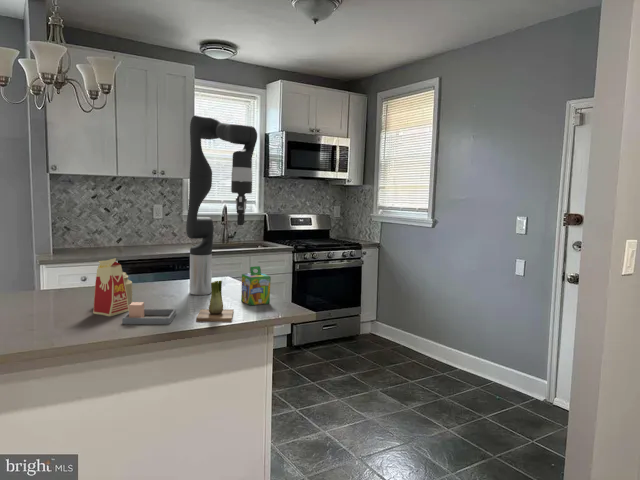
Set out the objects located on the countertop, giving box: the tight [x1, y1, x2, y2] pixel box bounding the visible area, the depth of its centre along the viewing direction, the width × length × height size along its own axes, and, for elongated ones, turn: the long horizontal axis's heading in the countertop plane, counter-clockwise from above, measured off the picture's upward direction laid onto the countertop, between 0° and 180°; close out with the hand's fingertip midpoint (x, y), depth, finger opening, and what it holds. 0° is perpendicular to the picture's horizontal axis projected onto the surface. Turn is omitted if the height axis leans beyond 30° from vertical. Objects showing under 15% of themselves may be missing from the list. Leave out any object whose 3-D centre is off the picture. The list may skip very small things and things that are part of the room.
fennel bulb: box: [208, 280, 224, 314], centre depth 168 cm, size 6×5×12 cm
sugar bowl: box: [122, 271, 133, 305], centre depth 182 cm, size 15×11×15 cm
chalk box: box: [240, 265, 272, 306], centre depth 191 cm, size 9×9×15 cm
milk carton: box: [92, 257, 129, 317], centre depth 168 cm, size 9×9×20 cm
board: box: [195, 308, 234, 323], centre depth 168 cm, size 12×12×1 cm
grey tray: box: [121, 308, 177, 325], centre depth 163 cm, size 12×15×2 cm
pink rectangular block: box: [128, 301, 145, 318], centre depth 160 cm, size 4×4×6 cm
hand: (240, 224), depth 174 cm, fingers open, 8 cm apart
